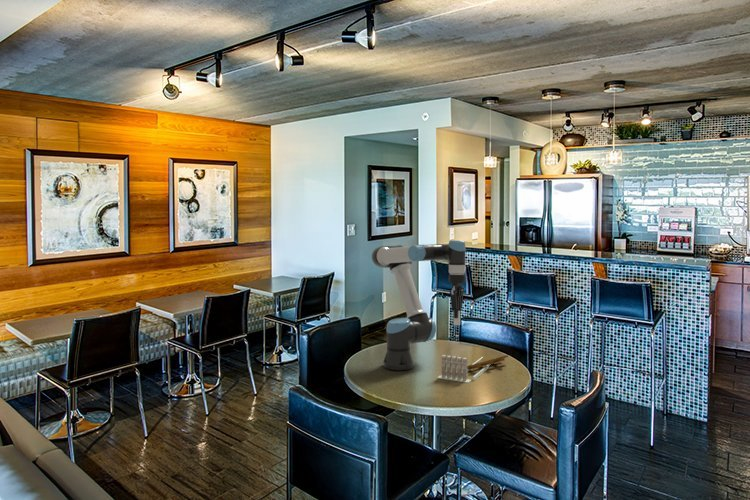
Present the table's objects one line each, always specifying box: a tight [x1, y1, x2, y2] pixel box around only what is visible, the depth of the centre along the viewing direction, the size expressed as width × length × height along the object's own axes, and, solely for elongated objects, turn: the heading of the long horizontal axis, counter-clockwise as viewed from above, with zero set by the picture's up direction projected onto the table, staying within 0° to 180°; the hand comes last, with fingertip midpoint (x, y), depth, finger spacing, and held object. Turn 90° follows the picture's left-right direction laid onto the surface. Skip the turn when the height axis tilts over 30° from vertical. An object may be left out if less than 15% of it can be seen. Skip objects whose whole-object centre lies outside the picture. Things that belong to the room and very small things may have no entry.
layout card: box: [436, 374, 472, 384], centre depth 227 cm, size 15×4×1 cm, turn 61°
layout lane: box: [467, 356, 492, 381], centre depth 243 cm, size 8×37×2 cm, turn 151°
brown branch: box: [467, 354, 509, 371], centre depth 245 cm, size 25×2×10 cm
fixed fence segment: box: [441, 354, 468, 381], centre depth 228 cm, size 2×12×10 cm, turn 61°
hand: (456, 324), depth 230 cm, fingers closed
